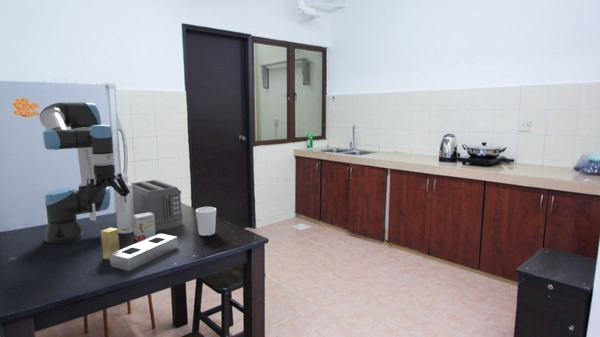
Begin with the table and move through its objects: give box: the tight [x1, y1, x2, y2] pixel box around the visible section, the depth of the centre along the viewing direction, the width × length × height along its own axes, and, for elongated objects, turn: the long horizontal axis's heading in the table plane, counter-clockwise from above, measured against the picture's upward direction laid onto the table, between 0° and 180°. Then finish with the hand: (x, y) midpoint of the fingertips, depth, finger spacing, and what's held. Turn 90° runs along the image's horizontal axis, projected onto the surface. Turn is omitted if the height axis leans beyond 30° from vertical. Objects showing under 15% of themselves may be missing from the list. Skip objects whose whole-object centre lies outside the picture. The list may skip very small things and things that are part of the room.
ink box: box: [133, 212, 157, 243], centre depth 175 cm, size 9×5×12 cm, turn 136°
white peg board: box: [109, 233, 179, 272], centre depth 155 cm, size 10×26×5 cm, turn 155°
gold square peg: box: [100, 227, 121, 261], centre depth 153 cm, size 4×4×12 cm
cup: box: [195, 206, 217, 238], centre depth 180 cm, size 10×10×13 cm
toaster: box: [129, 179, 184, 232], centre depth 199 cm, size 19×34×20 cm, turn 45°
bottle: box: [113, 174, 134, 234], centre depth 184 cm, size 8×8×28 cm
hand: (108, 215), depth 151 cm, fingers open, 13 cm apart
